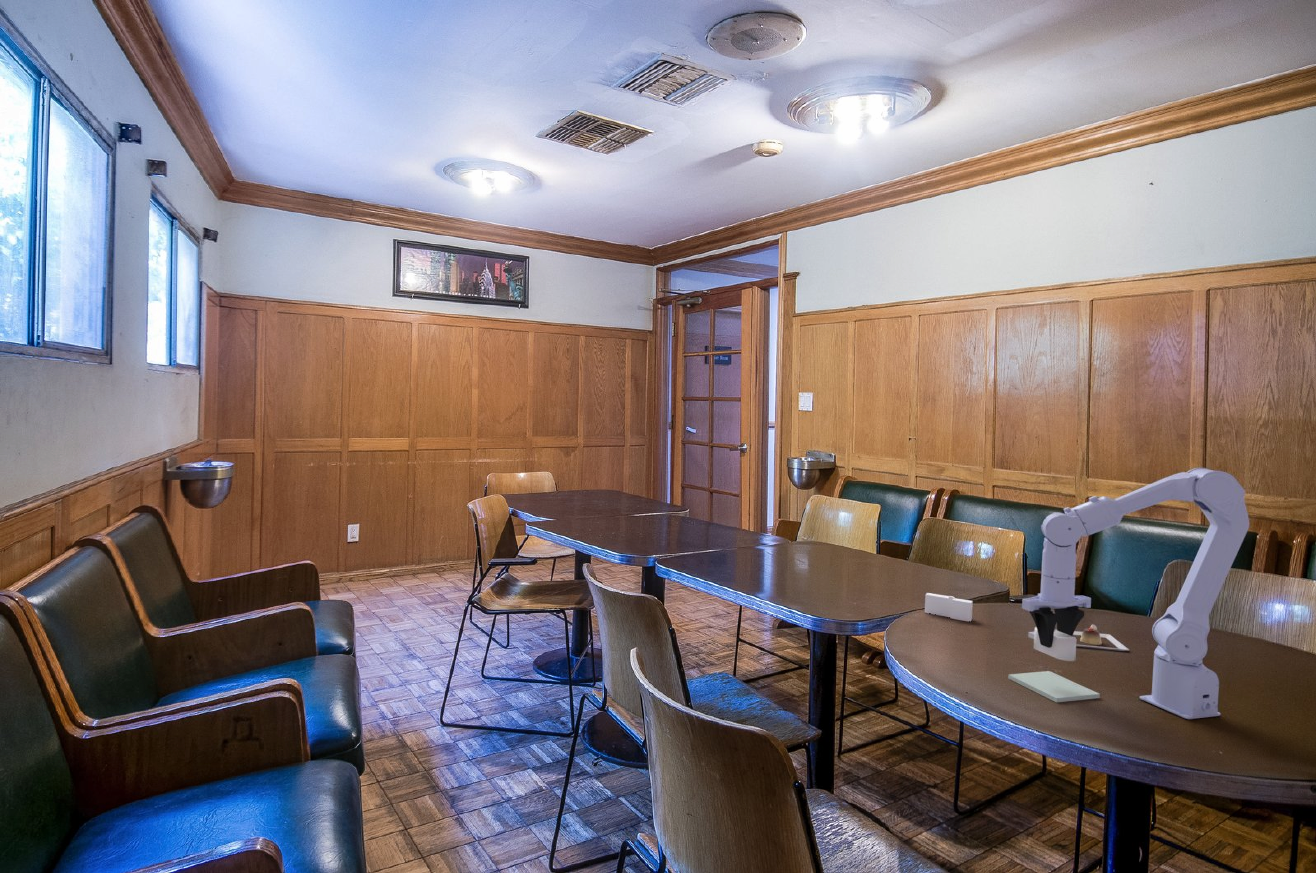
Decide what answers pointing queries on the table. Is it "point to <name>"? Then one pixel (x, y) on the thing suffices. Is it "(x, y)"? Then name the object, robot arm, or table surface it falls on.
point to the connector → (1057, 645)
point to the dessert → (1097, 639)
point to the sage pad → (1053, 686)
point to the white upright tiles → (948, 606)
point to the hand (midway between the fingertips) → (1054, 645)
